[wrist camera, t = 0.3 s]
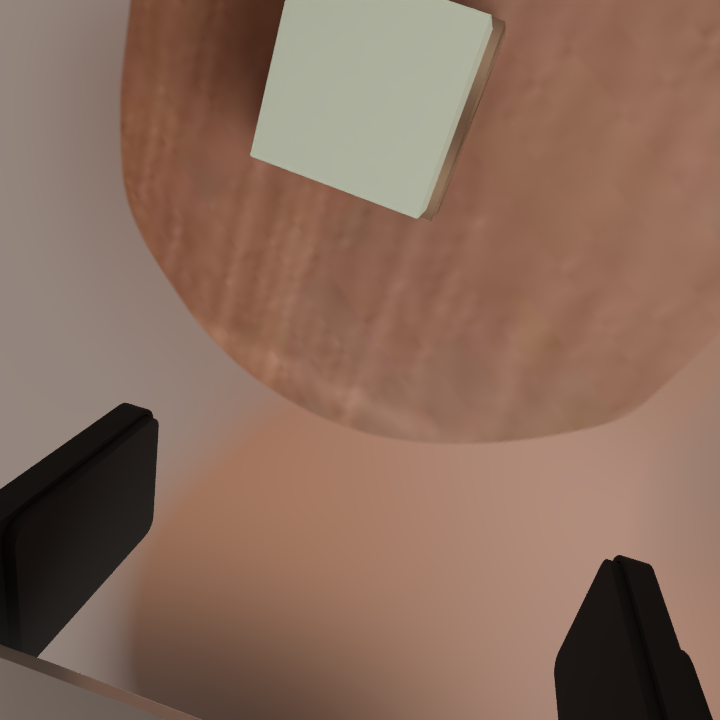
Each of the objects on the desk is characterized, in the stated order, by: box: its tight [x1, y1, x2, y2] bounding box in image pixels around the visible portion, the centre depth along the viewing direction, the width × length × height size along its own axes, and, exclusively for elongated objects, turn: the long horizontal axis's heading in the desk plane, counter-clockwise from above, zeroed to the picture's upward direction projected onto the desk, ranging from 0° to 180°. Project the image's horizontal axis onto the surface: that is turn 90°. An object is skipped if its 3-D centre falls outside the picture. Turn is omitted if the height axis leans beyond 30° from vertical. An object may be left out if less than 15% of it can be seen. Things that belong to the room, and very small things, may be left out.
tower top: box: [250, 0, 493, 219], centre depth 31 cm, size 10×10×4 cm
